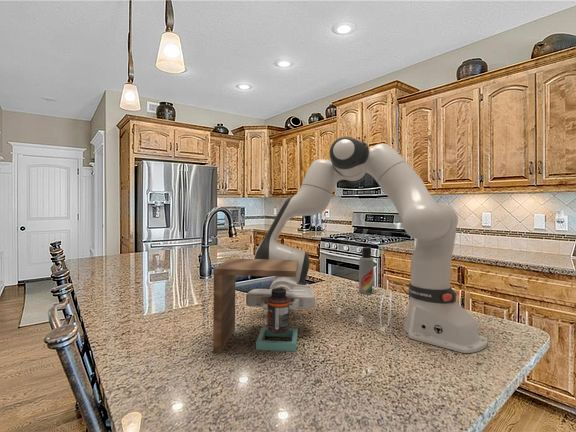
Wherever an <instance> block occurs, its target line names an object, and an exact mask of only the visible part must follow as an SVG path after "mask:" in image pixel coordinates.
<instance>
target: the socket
mask: <svg viewBox="0 0 576 432" xmlns="http://www.w3.org/2000/svg"><path fill="white" fill-rule="evenodd" d="M298 332H299V331H298V328H289V330H288V331H287V332H284V333H273V332H270V331H269V330H268V327H264V326H263V327H261V329H260V332H259V334H258V336H257V339H256V342H255V350H256V351H257V350H258V351H279V352H280V351H281V352H297V343H298ZM266 337H279V338H280V337H282V338H291V341H281V340H265V339H266Z"/></svg>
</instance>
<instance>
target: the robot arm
mask: <svg viewBox="0 0 576 432" xmlns="http://www.w3.org/2000/svg"><path fill="white" fill-rule="evenodd" d="M329 158H330V159H326V158H317V159H315V160H314V161H312V163H311V164H310V166H309V168H308V169H307V171H306V173H305V175H304V178H303V180H302V183H301V186H300V189H299V190H298V192H297V193H296V194H295V195H293V196H290V197H288V198H286V200H285V201H284V202H283V204H282V205H281V207H280V209H279V211H278V212H277V214H276V216H275V218H274V220H273V222H272V223H271V225H270V227H269V229H268V231H267V232H266V234H265V236H264V238H263V240H262V241H261V242H260V243H259V244H258V246H257V248H256V250H255V251H254V252H255V253H254V258H253V259H270V260H298V269H297V274H296V277H274V278H273V280H272V283H271V284H270V287H269V289H268V288H254V289H253V288H252V289H251V290H250V291H248V292H247V293H246V295H245V304H246V306H247V307H249V308H250V307H252V308H262V310H268V299H269V297H271V295H272V294H271V293H272V289H274V288H283V289H286V295H285V296H287V297H288V298H289V311H295V309H314V308H316V295H315V292H314V290H313V289H312V288H311V285H310V284H309V283H304V282H305V281H306V279H307V277H308V276H307V275H308V272H309V268H310V258H309V255H308V253H307V251H304V250H302V249H298V248H295V247H292V246H289V245H286V244H282V243H280V242H278V238H279V236H280V235H281V233H282V231H283V229H284V227H285V225H286V223H287V222H288V221H290V219H292V218H294V217H295V218H296V217H307V216H309V217H311V216H315V215H316V216H317V215H319V214H321V213H323V212H324V211H325V210H326V209H327V208H328V207H329V204H330V202H331V198H332V196H333V193H334V189H335V187H336V185H337V183H339V184H357V183H360V182H362V181H364V179H366V177H367V175H370V176H371V177H372V178H373V179H374V180H375V182H376V183H377V184H378V185H379V187H380V188H381V189H382V191H383V192H384V193H385V195H386V196H387V198H389V200H390V201H391V202H392V204H393V206H394V208H395V210H396V212H397V214H398V215H399V217H400V219H401V221H402V227H403V229H404V232H406V234H407V235H408V236H410V237H411V238H413V239H414V240H415V239H416V243H415V245H414V246H415V247H414V250H413V253H412V256H411V258H410V282H409V284H408V299H409V301H408V308H407V314H406V320H405V322H404V325H403V330H404V331H405V332H406V333H407V336H408V338H409V339H411V340H413V341H419V342H423V343H426V344H429V345H434V346H437V347H440V348H445V349H448V350H451V351H455V352H459V353H462V354H472V353H476V352H479V351H483V350H484V349H485V348H486V347H487V346H488V338H487V337H485V336H484V335H481V334H479V325H478V321H477V320H476V318H475V317H474V316H472V315H471V313H469V312H468V311H467V310H466V309H465V308H464V307H463V306H461V304H460V303H459V302H457V296H459V295H460V294H459V293H460V291H459V290H457V291H455V290H454V289H453V288H452V286H451V275H452V273H451V272H452V258H453V252H454V247H455V240H456V235H457V234H456V233H457V228H458V223H459V218H458V215H457V212H456V211H455V210H454V209H453V208H452V206H449V205H448V204H446V203H441V202H437V201H436V200H435V199H434V198H433V196H432V195H431V193H430V192H429V190H428V188H427V186H426V185H425V182H424V180H423V179H422V178H421V176H419V174H418V173H417V172H416V171H415V170H414V168H413V167H412V166H411V164H410V163H408V162H407V161H406V159H405V158H404V157H403V156H402V155H401V153H399V152H398V151H396V149H394V148H393V147H391V146H390V145H389V144H387V143H377V144H374V145H373V146H371V147H370V148H369V145H368V144H367V143H366V142H363V141H362V140H361V141H360V140H358V139H356V138H354V137H351V136H342V137H339V138H337V139H335V140H334V141H333V143H332V144H331V146H330V148H329Z"/></svg>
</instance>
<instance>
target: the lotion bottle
mask: <svg viewBox="0 0 576 432" xmlns="http://www.w3.org/2000/svg"><path fill="white" fill-rule="evenodd" d="M358 265H359V266H358V267H359V270H358V273H359V274H358V275H359V276H358V281H359V282H358V292H359V294H362V295H372V294H373V285H374V284H373V282H374V257H372V248H371V246H363V247H361V257H359V264H358Z"/></svg>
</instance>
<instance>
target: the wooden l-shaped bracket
mask: <svg viewBox="0 0 576 432" xmlns="http://www.w3.org/2000/svg"><path fill="white" fill-rule="evenodd" d="M297 269H298V260H270V259H254V258H232V257H231V258H227V259H226V260H224V262H223V261H222V263H220V264H219V265H217V266H216V267H214V268H213V306H212V307H213V308H212V309H213V314H212V315H213V321H212V322H213V329H212V333H213V334H212V336H213V337H212V338H213V339H212V340H213V341H212V342H213V343H212V345H213V346H212V348H213V349H212V353H213V354H214V353H215V354H221V353H222V352H223V350H224V349H225V347H226V345H227V343H228V342H229V340H230V339H231V337H232V336H233V333H234V332H235V330H236V276H245V277H246V276H247V277H274V278H275V277H296V274H297Z"/></svg>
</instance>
